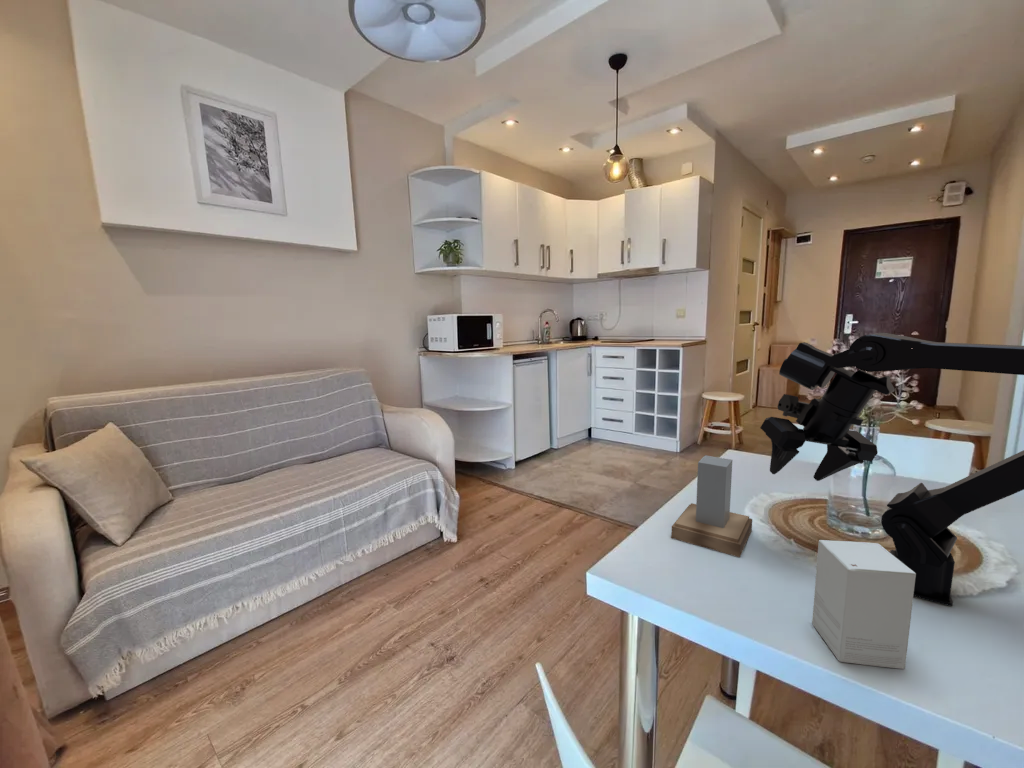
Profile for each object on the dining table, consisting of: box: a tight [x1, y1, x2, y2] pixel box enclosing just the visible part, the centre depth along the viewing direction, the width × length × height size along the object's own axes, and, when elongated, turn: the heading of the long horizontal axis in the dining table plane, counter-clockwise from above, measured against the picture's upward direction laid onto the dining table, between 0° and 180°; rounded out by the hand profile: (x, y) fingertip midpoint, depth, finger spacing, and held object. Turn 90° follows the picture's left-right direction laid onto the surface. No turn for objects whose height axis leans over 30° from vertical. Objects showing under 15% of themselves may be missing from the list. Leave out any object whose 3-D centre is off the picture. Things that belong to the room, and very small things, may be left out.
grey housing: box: [695, 455, 733, 528], centre depth 84 cm, size 5×5×12 cm
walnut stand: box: [670, 502, 753, 558], centre depth 85 cm, size 12×12×3 cm
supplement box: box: [811, 539, 916, 670], centre depth 55 cm, size 7×7×13 cm
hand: (794, 476), depth 79 cm, fingers open, 9 cm apart
